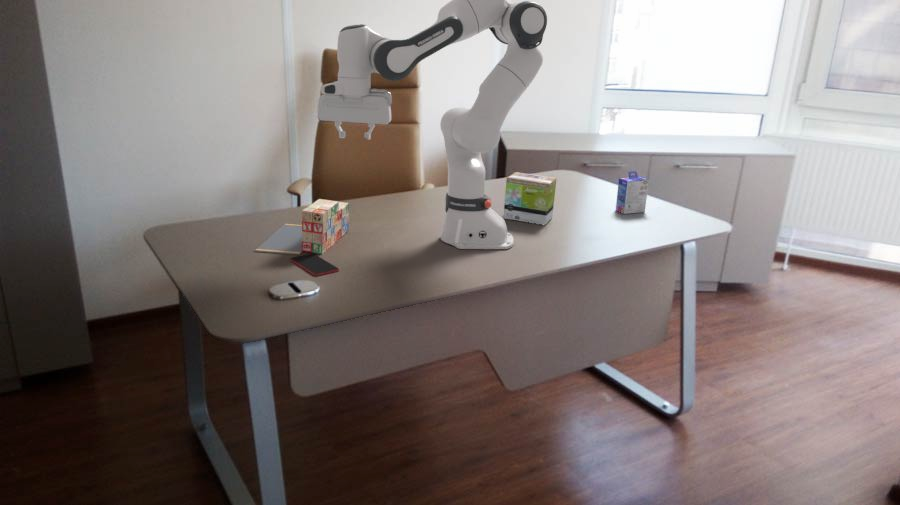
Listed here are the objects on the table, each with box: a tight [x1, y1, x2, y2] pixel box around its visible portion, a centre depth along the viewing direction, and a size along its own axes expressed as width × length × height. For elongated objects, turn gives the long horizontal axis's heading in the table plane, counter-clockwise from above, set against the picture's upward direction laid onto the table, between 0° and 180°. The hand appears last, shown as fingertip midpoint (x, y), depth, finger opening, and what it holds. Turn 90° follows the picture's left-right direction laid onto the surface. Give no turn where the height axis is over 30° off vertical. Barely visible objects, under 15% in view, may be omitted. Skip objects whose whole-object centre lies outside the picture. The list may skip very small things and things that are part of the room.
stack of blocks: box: [301, 198, 350, 255], centre depth 190 cm, size 21×6×12 cm, turn 168°
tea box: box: [503, 171, 557, 226], centre depth 220 cm, size 15×10×15 cm, turn 68°
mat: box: [254, 223, 304, 256], centre depth 193 cm, size 13×25×1 cm, turn 174°
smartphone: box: [289, 252, 340, 277], centre depth 175 cm, size 7×1×15 cm
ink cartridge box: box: [615, 170, 650, 215], centre depth 233 cm, size 10×6×14 cm, turn 114°
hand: (354, 138), depth 181 cm, fingers open, 6 cm apart
